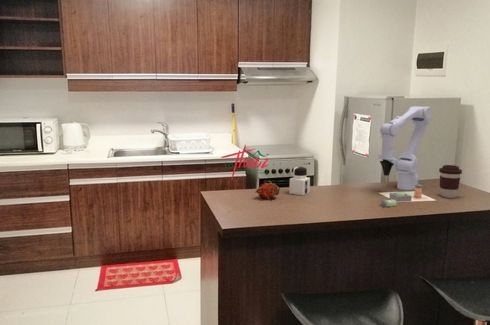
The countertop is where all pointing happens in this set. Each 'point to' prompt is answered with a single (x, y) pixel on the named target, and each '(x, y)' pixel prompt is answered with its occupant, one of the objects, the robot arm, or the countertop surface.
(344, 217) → the countertop surface
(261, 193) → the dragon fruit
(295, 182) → the container
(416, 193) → the cylinder
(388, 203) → the sage marker lying
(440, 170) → the coffee cup
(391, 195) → the white sorting board
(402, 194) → the button
